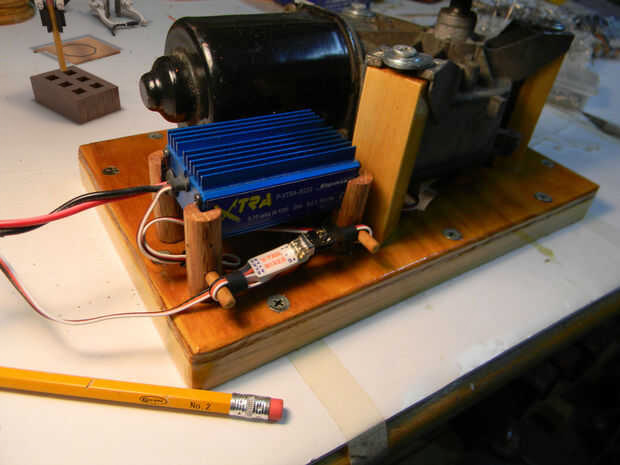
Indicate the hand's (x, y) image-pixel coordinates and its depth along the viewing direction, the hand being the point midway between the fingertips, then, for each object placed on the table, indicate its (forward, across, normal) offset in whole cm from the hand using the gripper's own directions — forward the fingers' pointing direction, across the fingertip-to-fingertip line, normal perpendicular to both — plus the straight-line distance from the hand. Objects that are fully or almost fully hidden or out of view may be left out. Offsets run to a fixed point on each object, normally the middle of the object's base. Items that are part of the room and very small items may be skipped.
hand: (55, 29), depth 86 cm
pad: (+16, +3, +32) cm, 37 cm away
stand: (+16, +1, +1) cm, 17 cm away
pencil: (+8, 0, 0) cm, 8 cm away
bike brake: (+17, +15, +56) cm, 61 cm away
